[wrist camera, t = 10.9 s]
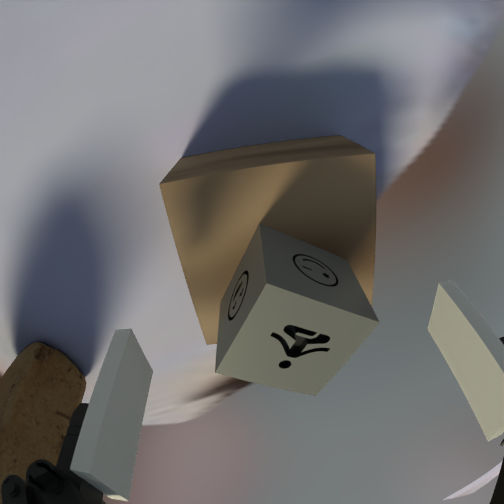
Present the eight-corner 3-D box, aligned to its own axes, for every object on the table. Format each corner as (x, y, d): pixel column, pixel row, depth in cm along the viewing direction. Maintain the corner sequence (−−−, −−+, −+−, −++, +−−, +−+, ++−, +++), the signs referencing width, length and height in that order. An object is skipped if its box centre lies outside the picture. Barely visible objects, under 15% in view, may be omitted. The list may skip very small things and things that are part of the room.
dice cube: (346, 259, 16) (379, 321, 12) (301, 327, 18) (315, 395, 14) (259, 223, 15) (266, 283, 11) (220, 301, 17) (215, 372, 13)
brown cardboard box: (181, 156, 19) (159, 183, 14) (339, 134, 19) (375, 153, 14) (213, 288, 24) (206, 344, 19) (344, 268, 24) (370, 320, 18)
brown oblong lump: (48, 329, 26) (-34, 507, 8) (99, 378, 29) (50, 551, 11) (6, 356, 28) (-57, 490, 11) (49, 395, 31) (3, 528, 14)
